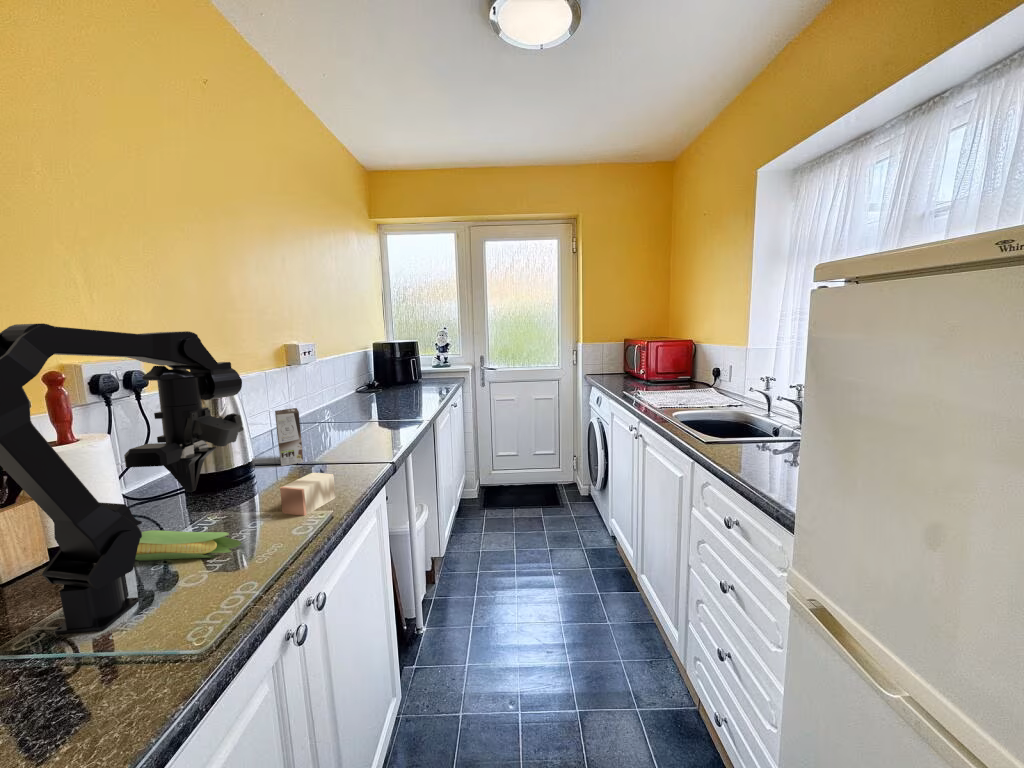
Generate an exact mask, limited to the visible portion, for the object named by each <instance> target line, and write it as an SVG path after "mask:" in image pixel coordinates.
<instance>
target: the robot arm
mask: <svg viewBox="0 0 1024 768" xmlns="http://www.w3.org/2000/svg"><path fill="white" fill-rule="evenodd" d="M53 355H54V356H55V355H56V356H57V355H59V356H79V357H80V356H81V357H83V356H84V357H107V358H108V357H109V358H128V359H133V360H136V361H139V362H141V363H145V364H153V366H152V368H151V369H150V370H149V371H148V372H146V373H145V374H144V375H143V376H142V377H141V378H142V379H141V380H143V381H150V382H151V381H152V382H153V381H156V382H157V389H158V391H157V392H158V399H159V408H160V411H157V412H154V415H153V416H154V419H155V420H161V425H162V433H163V434H161V435H159V436H157V437H156V440H157V442H156V443H155V442H154V443H145V444H142V445H139V446H136V447H132V448H129V449H128V450H127V451H126V452H125V454H124V457H123V458H124V462H125V463H124V465H125V468H127V469H128V468H144V467H145V468H147V467H149V468H150V467H151V468H152V467H164V468H165V469H167V471H168V472H169V473H170V474H171V475H172V477H174V478H175V480H176V481H177V482H178V484H179V485H180V486H181V487H182V488H183V489H184V491H185V492H187V493H192V492H194V491H196V490H197V485H198V482H199V480H200V479H199V478H200V475H201V471H202V468H203V464H204V462H205V459H206V458H207V457H208V456H209V455H210V454H211V453H213V452H214V451H215V450H216V448H217V447H226V446H227V445H228V444H231V443H236V441H237V438H238V435H239V433H241V432H243V431H244V427H243V421H242V416H241V414H237V413H235V412H234V413H233V412H232V413H229V414H227V415H225V416H224V417H223V416H219V417H215V416H212V415H211V410H210V409H209V407H208V406H207V407H206V406H205V407H203V401H210V400H216V399H221V398H228V397H234V396H236V395H238V394H239V393H240V392H241V390H242V388H243V387H242V386H243V380H242V378H241V376H240V374H239V373H238V371H236V370H235V369H234V368H232V363H231V362H230V361H217V360H216V359H215V358H214V357H213V355H212V353H210V351H209V350H208V349H207V348H206V346H205V345H204V344H203V343H202V339H200V337H199V336H198V334H196V333H195V332H193V331H186V330H185V331H159V332H144V333H131V332H122V331H120V332H119V331H109V330H99V329H97V330H96V329H86V328H77V327H76V328H75V327H66V326H65V327H64V326H55V325H51V324H49V323H48V324H47V323H42V322H41V323H24V324H23V323H22V324H20V323H19V324H13V325H10V326H8V327H7V328H5V329H3V330H1V332H0V467H1V468H2V469H3V470H4V471H5V472H6V473H7V474H8V475H9V476H10V477H11V478H12V479H13V480H14V482H16V483H17V485H18V486H19V487H21V489H22V490H23V491H24V493H26V494H27V495H28V496H29V497H30V498H31V500H32V501H34V502H35V504H37V506H38V507H40V508H41V510H42V511H43V512H44V513H45V514H46V515H47V516H48V518H50V519H51V520H52V522H53V530H54V531H53V532H54V534H53V535H54V539H55V541H56V543H57V544H58V547H59V550H58V551H57V553H56V554H55V555H54V557H53V558H52V559H51V560H50V562H49V563H48V565H47V566H45V569H43V572H42V573H41V576H42V577H43V578H44V579H45V580H46V582H47V583H48V584H52V585H54V584H57V585H63V586H62V587H63V588H62V589H60V590H59V595H60V596H59V597H60V600H61V606H62V612H63V617H64V622H63V623H62V624H60V625H58V627H56V628H55V629H54V630H53V632H54V634H55V635H57V634H69V633H70V634H71V633H82V632H83V633H84V632H92V631H102V630H105V629H107V628H108V627H109V626H110V625H112V624H113V623H114V622H116V621H117V620H118V619H120V618H121V617H122V616H123V615H124V614H125V613H126V612H128V611H129V610H130V609H132V607H134V606H135V605H136V604H137V603H138V602H140V598H139V596H138V597H129V589H128V584H127V583H128V582H127V578H126V575H127V574H129V573H132V572H133V570H134V567H135V563H136V560H135V558H136V553H137V548H138V545H139V542H140V539H141V538H142V532H143V531H141V528H140V527H139V526H140V525H142V521H141V520H138V519H136V518H135V517H134V515H133V514H132V511H131V509H130V507H128V506H127V505H126V504H124V503H115V502H114V503H113V502H112V503H111V502H99V500H97V498H95V496H94V495H93V494H92V493H91V491H90V490H89V489H88V488H87V487H86V485H84V483H83V481H81V479H79V477H78V476H77V475H76V474H75V473H74V471H72V469H71V468H70V467H69V465H68V464H67V463H66V462H65V461H64V460H63V458H62V457H61V456H60V455H59V453H58V452H56V450H55V449H54V448H53V447H52V445H51V444H50V443H49V442H48V441H47V439H46V438H45V437H44V436H43V435H42V433H41V432H40V431H39V429H37V427H36V426H34V424H33V421H32V420H31V418H32V417H31V402H30V399H29V397H28V395H27V393H26V391H25V389H24V386H25V385H26V384H28V383H29V382H31V381H32V380H33V379H34V378H36V377H37V376H38V375H39V373H40V372H41V371H42V369H43V368H44V366H45V364H46V363H47V361H48V360H49V359H50V358H51V357H52V356H53ZM168 367H169V368H168ZM202 400H203V401H202ZM208 443H210V444H212V445H213V446H214V447H212V446H211V447H210V446H209V444H208Z"/></svg>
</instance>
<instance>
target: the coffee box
mask: <svg viewBox="0 0 1024 768" xmlns="http://www.w3.org/2000/svg"><path fill="white" fill-rule="evenodd" d="M274 413H275V414H274V415H275V425H276V433H277V436H276V437H277V443H278V453H279V459H280V461H279V462H280V466H281V467H285V466H289V465H290V466H291V465H297V463H298V464H303V463H304V454H303V441H302V433H301V431H302V430H301V422H300V421H301V420H300V411H299V410H298V408H297V407H293V408H286V409H279V410H275V411H274Z"/></svg>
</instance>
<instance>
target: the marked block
mask: <svg viewBox="0 0 1024 768" xmlns="http://www.w3.org/2000/svg"><path fill="white" fill-rule="evenodd" d="M335 487H336V486H335V478H334V474H332V473H325V472H311V473H309V474H306V475H305V476H302V477H300V478H298V479H296V480H293V481H291V482H289V483H287V484H284V485H283V486H280V487H279V492H280V500H281V501H280V502H281V510H282V514H286V515H296V516H303V517H304V516H307V515H308V514H310V513H312V512H314V511H315V510H318V509H319V508H320V507H322V506H324V505H326V504H328V503H329V502H331V501H332V500H335V499H336V490H335Z"/></svg>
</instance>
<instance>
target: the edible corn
mask: <svg viewBox="0 0 1024 768" xmlns="http://www.w3.org/2000/svg"><path fill="white" fill-rule="evenodd" d="M141 532H142V538H141V539H140V542H139V545H138V548H137V553H136V558H135V561H140V562H141V561H144V562H145V561H161V560H162V561H163V560H164V561H165V560H184V559H185V560H186V559H187V560H189V559H211V558H216V557H215V556H212V555H209V554H215V553H216V554H218V553H219V554H221V553H222V554H223V553H232V550H230V549H235V548H237V547H239V546H240V545H242V544H243V543H242V542H241V541H239V540H238V539H235V538H230V537H227V536H229V535H230V533H229V532H226V531H225V532H224V531H221V532H220V531H218V532H217V531H216V532H214V531H210V532H209V531H207V532H206V531H177V530H158V529H157V530H155V529H153V530H152V529H151V530H145V531H141Z"/></svg>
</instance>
